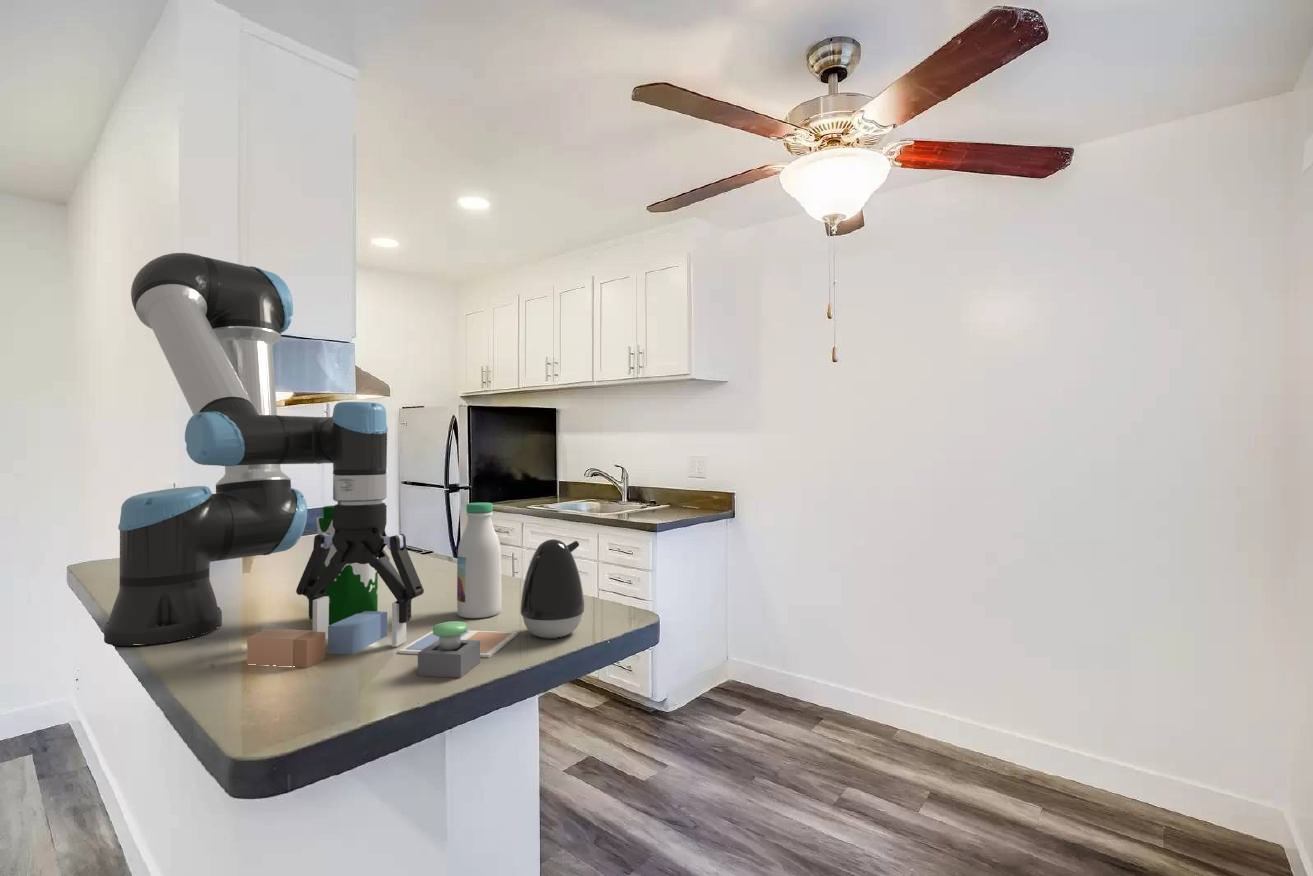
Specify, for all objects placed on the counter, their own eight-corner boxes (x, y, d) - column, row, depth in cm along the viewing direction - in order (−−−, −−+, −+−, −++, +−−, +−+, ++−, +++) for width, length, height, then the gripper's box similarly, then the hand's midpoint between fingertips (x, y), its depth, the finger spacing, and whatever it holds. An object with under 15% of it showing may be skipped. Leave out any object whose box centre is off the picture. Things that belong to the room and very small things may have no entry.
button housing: (417, 675, 83) (417, 652, 83) (439, 660, 89) (439, 638, 89) (460, 677, 82) (460, 654, 82) (480, 662, 88) (480, 640, 88)
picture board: (398, 653, 92) (398, 649, 92) (435, 631, 103) (435, 628, 103) (489, 657, 90) (489, 654, 90) (517, 635, 101) (517, 631, 101)
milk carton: (310, 621, 109) (311, 505, 110) (363, 610, 116) (363, 502, 117) (332, 630, 104) (333, 508, 104) (386, 619, 111) (386, 505, 111)
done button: (426, 651, 84) (426, 629, 84) (442, 640, 88) (442, 620, 88) (457, 652, 83) (457, 631, 83) (472, 642, 87) (472, 622, 87)
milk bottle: (507, 608, 117) (507, 501, 118) (492, 620, 110) (492, 505, 110) (467, 607, 118) (467, 501, 118) (449, 619, 110) (450, 504, 111)
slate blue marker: (352, 654, 92) (352, 627, 92) (327, 653, 92) (327, 626, 92) (387, 636, 101) (387, 611, 101) (364, 635, 101) (364, 610, 101)
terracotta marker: (247, 666, 87) (247, 637, 87) (268, 656, 91) (269, 628, 91) (306, 669, 86) (306, 639, 86) (325, 659, 90) (325, 631, 90)
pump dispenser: (598, 633, 102) (598, 538, 102) (546, 648, 94) (546, 546, 94) (559, 621, 109) (559, 533, 109) (507, 634, 101) (507, 539, 101)
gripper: (270, 503, 95) (269, 646, 95) (422, 505, 92) (421, 653, 91) (304, 499, 102) (304, 632, 102) (446, 501, 99) (446, 638, 99)
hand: (359, 642), depth 97 cm, fingers open, 12 cm apart
